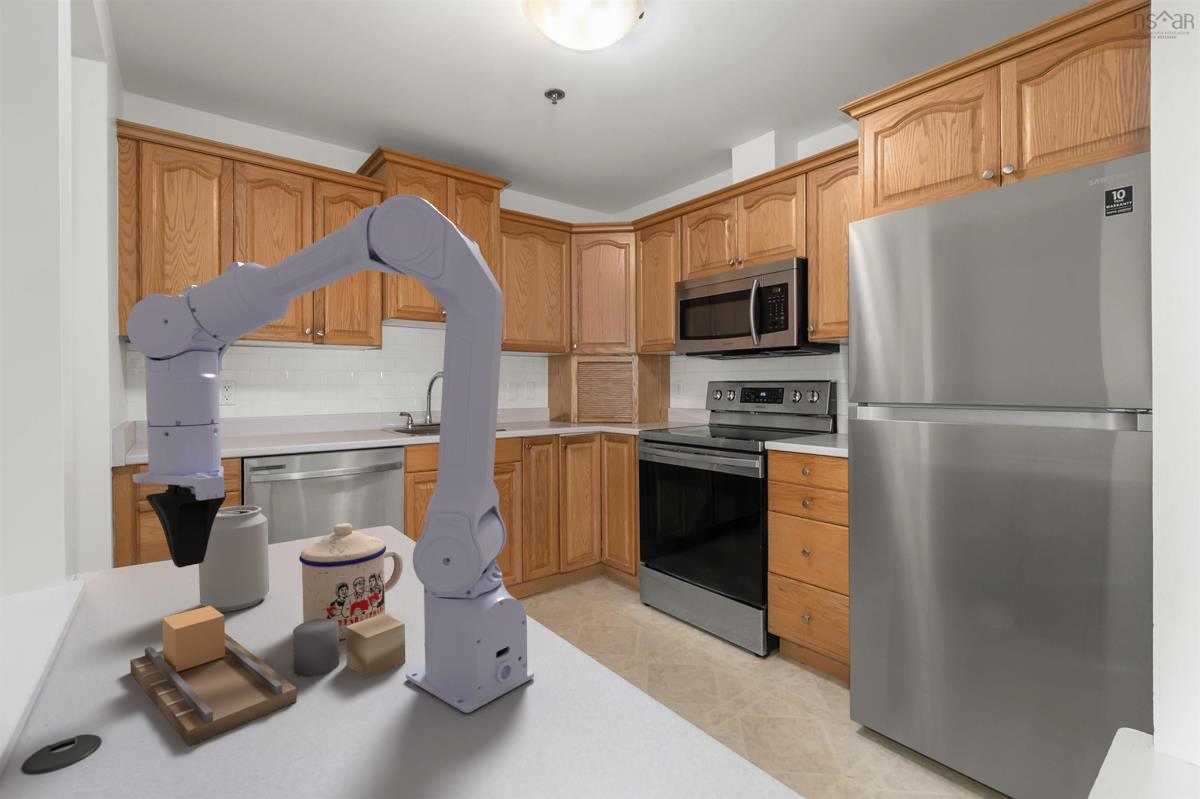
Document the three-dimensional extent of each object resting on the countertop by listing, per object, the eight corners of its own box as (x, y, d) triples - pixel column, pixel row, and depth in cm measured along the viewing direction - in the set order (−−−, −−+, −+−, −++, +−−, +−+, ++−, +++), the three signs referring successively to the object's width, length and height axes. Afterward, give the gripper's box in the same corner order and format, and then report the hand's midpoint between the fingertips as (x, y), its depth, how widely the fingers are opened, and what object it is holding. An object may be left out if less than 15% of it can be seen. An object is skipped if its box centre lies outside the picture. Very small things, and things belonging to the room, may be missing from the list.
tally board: (296, 701, 51) (296, 679, 51) (188, 746, 45) (187, 720, 45) (224, 643, 62) (223, 624, 62) (129, 672, 56) (129, 651, 56)
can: (282, 592, 77) (279, 503, 77) (242, 615, 70) (239, 516, 70) (229, 591, 78) (227, 502, 78) (184, 613, 71) (181, 515, 70)
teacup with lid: (327, 650, 61) (324, 539, 60) (286, 628, 66) (283, 527, 66) (424, 613, 70) (422, 517, 70) (381, 596, 76) (379, 508, 75)
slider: (225, 656, 57) (224, 615, 56) (176, 672, 53) (174, 629, 53) (211, 644, 59) (210, 605, 59) (163, 659, 56) (162, 618, 56)
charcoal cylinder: (346, 665, 57) (345, 625, 57) (305, 681, 54) (303, 639, 54) (328, 653, 60) (327, 615, 60) (287, 668, 57) (286, 628, 57)
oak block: (405, 663, 58) (404, 623, 58) (367, 679, 55) (366, 637, 55) (383, 651, 61) (383, 613, 60) (346, 666, 57) (345, 626, 57)
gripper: (113, 423, 58) (118, 559, 58) (154, 431, 48) (159, 592, 49) (197, 419, 63) (201, 543, 64) (248, 425, 54) (252, 571, 54)
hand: (188, 564), depth 57 cm, fingers closed
